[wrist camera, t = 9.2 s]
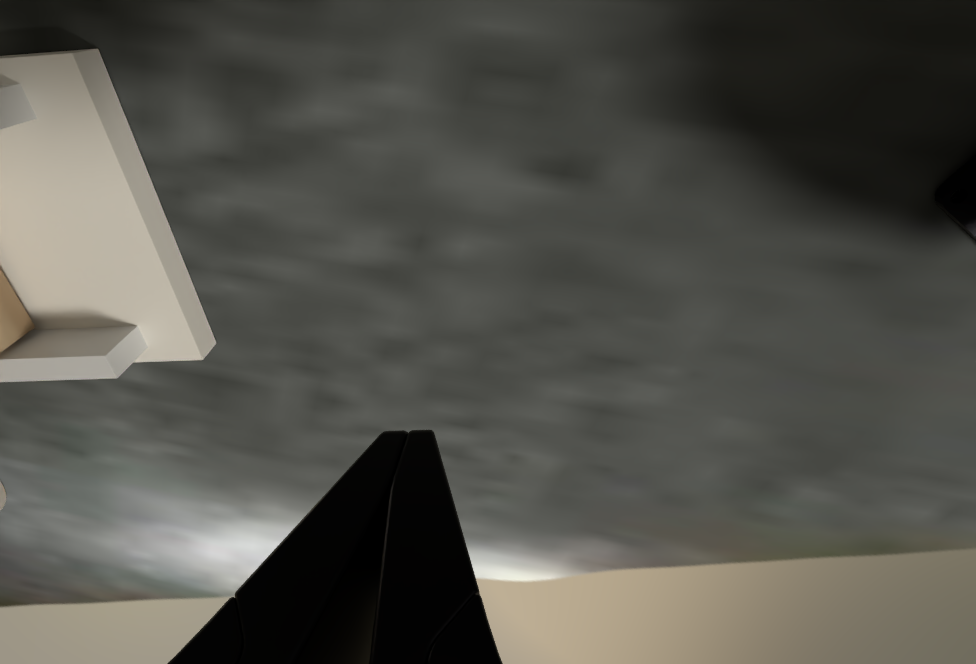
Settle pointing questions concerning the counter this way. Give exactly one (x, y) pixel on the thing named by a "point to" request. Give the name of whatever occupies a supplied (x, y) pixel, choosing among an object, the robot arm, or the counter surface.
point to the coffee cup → (2, 496)
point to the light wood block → (11, 316)
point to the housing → (85, 230)
